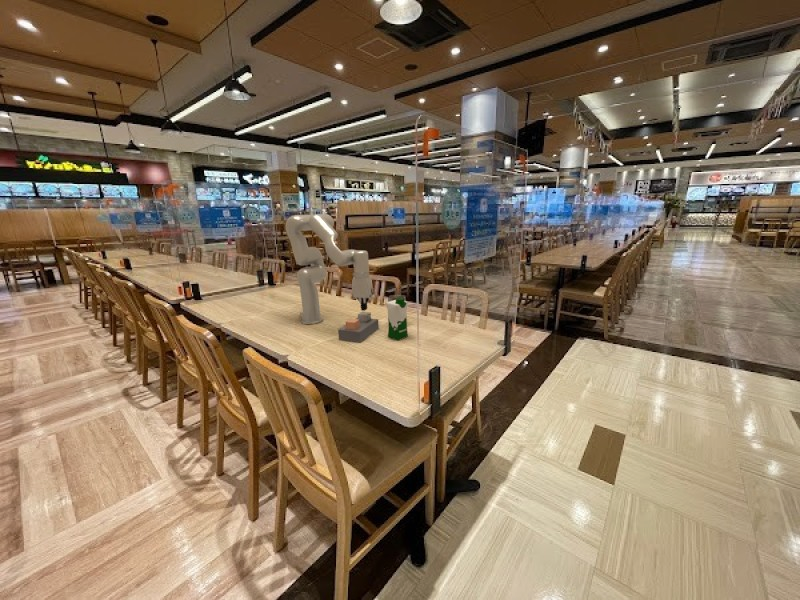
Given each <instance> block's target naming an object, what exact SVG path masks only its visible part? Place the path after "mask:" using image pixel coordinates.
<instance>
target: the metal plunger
mask: <svg viewBox="0 0 800 600" xmlns="http://www.w3.org/2000/svg"><path fill="white" fill-rule="evenodd" d="M371 313H372V312H369V311H368V312H367V311H361V312H359V313H357V318H358V319H359V320H360V322H364V323H367V322H369V321H370V320H371V319H372V314H371Z"/></svg>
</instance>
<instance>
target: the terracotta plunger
mask: <svg viewBox="0 0 800 600" xmlns="http://www.w3.org/2000/svg"><path fill="white" fill-rule="evenodd" d="M344 323H345V325H346V330H354V331H355V330H357V329H358V328H360V320H359V319H356V318H349V319H346V321H345V322H344Z"/></svg>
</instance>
